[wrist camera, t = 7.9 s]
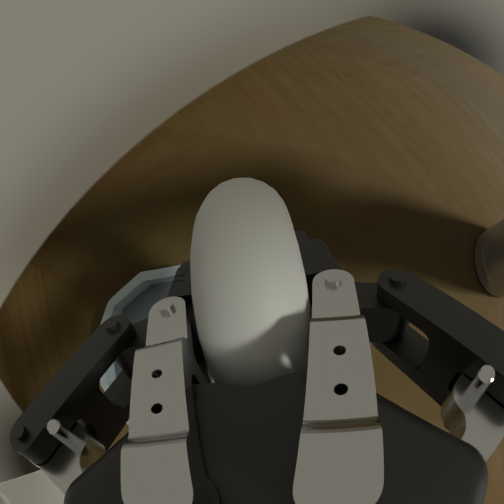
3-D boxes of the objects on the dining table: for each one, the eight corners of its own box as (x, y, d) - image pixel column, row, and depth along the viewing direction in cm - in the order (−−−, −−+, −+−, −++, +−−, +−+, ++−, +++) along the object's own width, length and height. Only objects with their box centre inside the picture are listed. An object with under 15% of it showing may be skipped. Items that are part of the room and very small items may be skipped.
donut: (225, 237, 17) (171, 132, 8) (279, 228, 17) (277, 111, 8) (248, 397, 14) (205, 477, 5) (307, 388, 14) (346, 461, 5)
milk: (93, 471, 24) (-15, 517, 3) (97, 444, 25) (-28, 487, 4) (127, 494, 22) (25, 560, 1) (133, 468, 24) (13, 537, 3)
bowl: (256, 260, 29) (252, 251, 26) (283, 432, 24) (282, 444, 21) (107, 285, 31) (91, 280, 28) (126, 432, 25) (112, 440, 22)
